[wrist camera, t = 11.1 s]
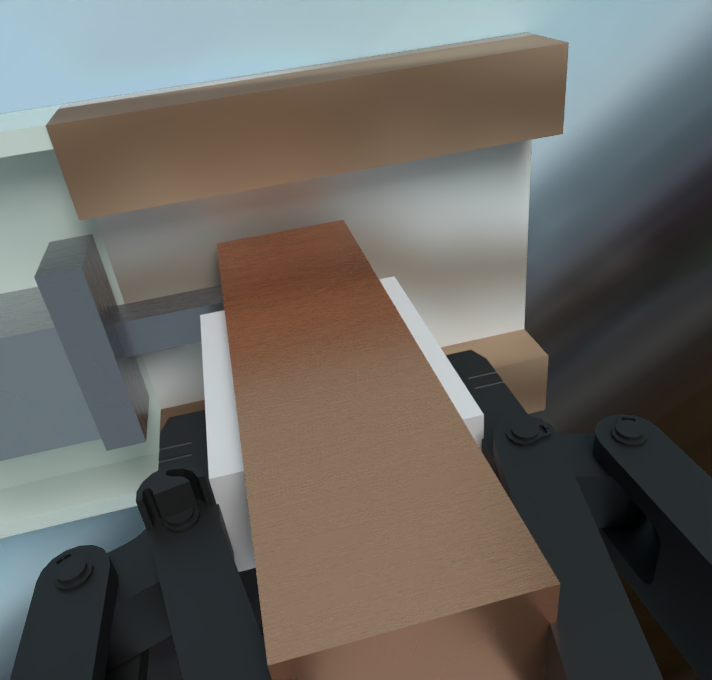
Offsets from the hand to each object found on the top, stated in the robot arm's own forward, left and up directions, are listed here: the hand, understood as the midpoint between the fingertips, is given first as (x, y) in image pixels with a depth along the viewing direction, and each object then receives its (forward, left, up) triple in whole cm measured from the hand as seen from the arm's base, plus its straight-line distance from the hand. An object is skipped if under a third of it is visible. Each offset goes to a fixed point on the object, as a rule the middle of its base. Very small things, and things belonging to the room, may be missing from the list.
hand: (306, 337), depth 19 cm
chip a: (-1, +9, -4) cm, 9 cm away
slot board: (0, -2, -4) cm, 5 cm away
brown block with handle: (0, +2, -3) cm, 4 cm away
